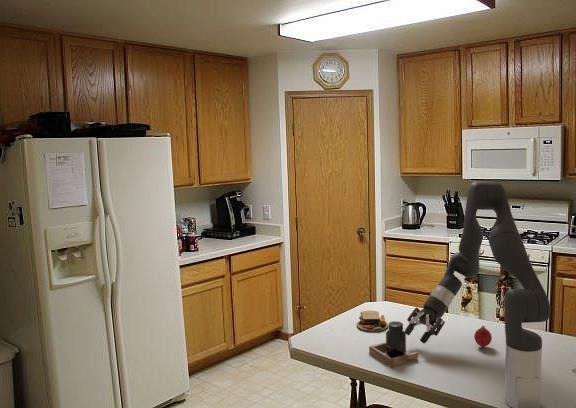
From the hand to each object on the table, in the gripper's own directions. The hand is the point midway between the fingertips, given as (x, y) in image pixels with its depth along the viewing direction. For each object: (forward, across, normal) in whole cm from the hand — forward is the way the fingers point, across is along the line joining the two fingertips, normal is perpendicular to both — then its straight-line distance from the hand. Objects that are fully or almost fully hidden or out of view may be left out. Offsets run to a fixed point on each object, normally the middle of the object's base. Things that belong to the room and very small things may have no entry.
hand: (414, 338), depth 186 cm
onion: (-12, +10, +20) cm, 25 cm away
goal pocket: (+10, 0, -3) cm, 10 cm away
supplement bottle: (+10, +1, -2) cm, 10 cm away
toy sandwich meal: (+3, -28, +4) cm, 28 cm away
